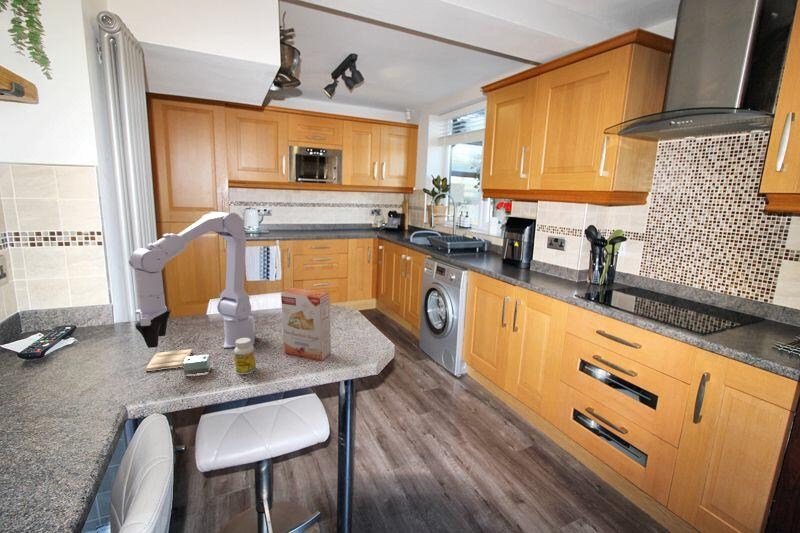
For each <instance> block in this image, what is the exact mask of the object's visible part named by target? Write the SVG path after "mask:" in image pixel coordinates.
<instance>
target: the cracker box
mask: <svg viewBox="0 0 800 533" xmlns="http://www.w3.org/2000/svg"><path fill="white" fill-rule="evenodd" d="M280 295H281V296H280V298H281V299H280V300H281V301H280V302H281V312H282V313H281V315H282V331H283V348H284V349H283V350H284V354H287V355H293V356H297V357H302V358H307V359H311V360H315V361H320V362H322V361H323V360H325V359H326V358H327V357H328V356H330V354H331V353H332V350H331V349H332V345H331V312H330V310H331V309H330V308H331V306H330V293H329V292H325V291H318V290H313V289H306V288H305V289H304V288H299V287H290V288H287V289H284V290H283V291H281V292H280Z"/></svg>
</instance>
